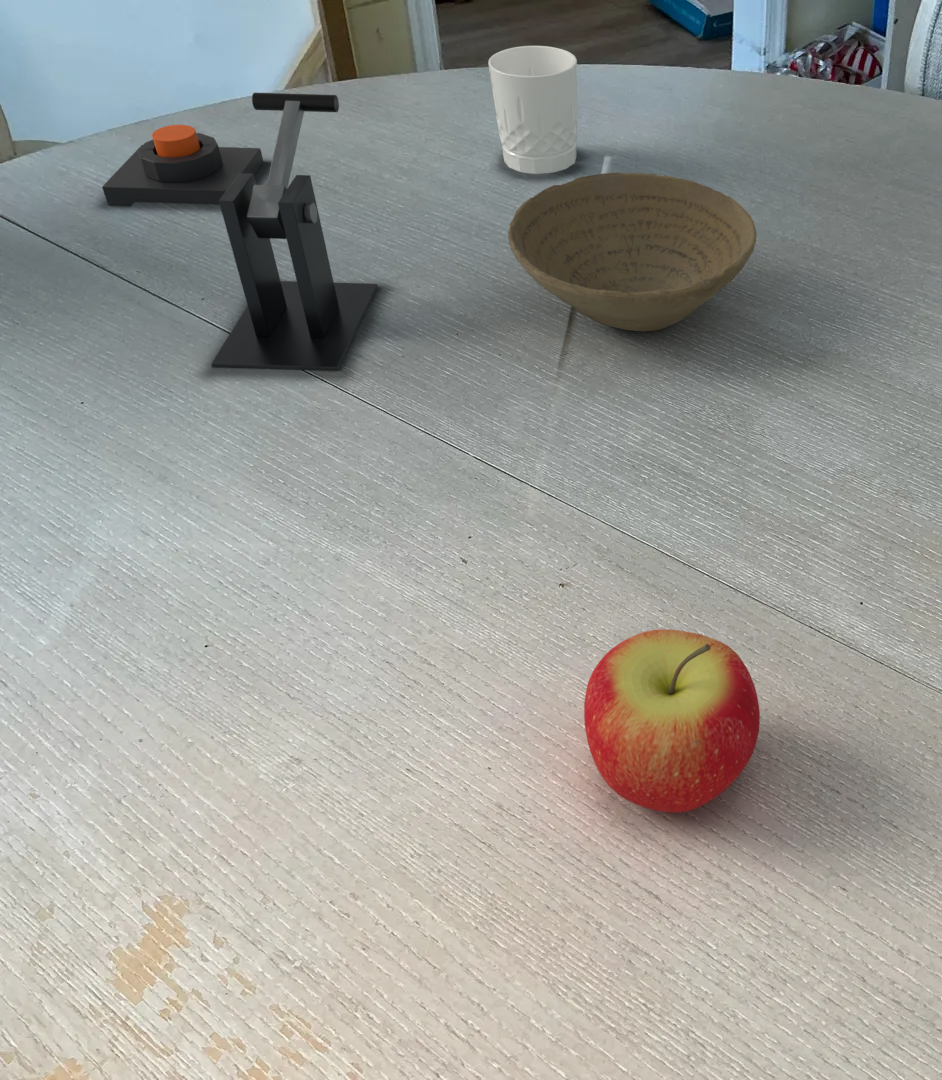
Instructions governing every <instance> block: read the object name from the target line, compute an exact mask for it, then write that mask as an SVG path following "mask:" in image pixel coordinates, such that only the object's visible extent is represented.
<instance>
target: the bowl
mask: <svg viewBox="0 0 942 1080" xmlns="http://www.w3.org/2000/svg"><path fill="white" fill-rule="evenodd" d="M757 234H758V233H757V229H756V226H755V222H754V220H753V218H752V216H751V215H750V214H749V213H748V211H746V210H745V208H744V207H743V206H742V205H741V204H740V203H738V202H737V201H736V200H735V199H734V198H732V197H731V196H728V195H726V194H725V193H723V192H722V191H719V190H716V189H713V188H712V187H709V186H708V185H707V186H706V185H703V184H701V183H698V182H696V181H694V180H689V179H685V178H680V177H674V176H669V175H659V174H655V173H646V172H645V173H644V172H643V173H642V172H604V173H598V174H593V175H592V174H591V175H585V176H580V177H576V178H574V179H573V180H570V181H568V182H565V183H561V184H553V185H551V186H549V187H545V189H543V190H541V191H540V192H538V193H537V194H535V195H534V196H532V197H529V198H528V199H527V200H525V201H523V202H522V204H521V205H520V206H519V207H518V208H517V209H516V211H515V213H514V216H513V218H512V219H511V221H510V222H509V228H508V232H507V237H508V242H509V247H510V250H511V252H512V254H513V256H514V258H515V259H516V261H517V262H518V263H519V265H520V266H521V267H522V268H523V270H525V272H526V273H527V274H528V275H529V277H531V278H532V279H533V281H535V282H536V283H537V284H538V285H539V286H540V287H541V288H543V289H545V290H546V291H547V293H550V294H551V295H553V296H555V297H556V298H558V299H560V300H561V301H563V302H564V303H566V304H568V305H569V306H571V307H573V308H574V309H575V310H577V311H578V312H579V313H580V314H582V315H583V316H585V317H586V318H588V319H590V320H592V321H593V322H596V323H598V324H601V325H604V326H608V327H612V328H615V329H620V330H626V331H631V332H632V331H633V332H655V331H660V330H664V329H666V328H668V327H670V326H672V325H675V324H677V323H679V322H680V321H682V320H684V319H685V318H687V317H688V316H690V315H691V314H693V313H694V312H695V311H696V310H697V309H698V308H700V307H701V306H702V305H704V304H705V303H706V302H708V301H709V300H710V299H712V298H713V297H714V296H716V294H718V293H719V292H721V290H723V289H724V288H725V287H726V286H728V285H729V284H730V283H731V282H732V281H733V280H734V279H735V278H736V277H737V275H739V273H740V272H741V271H742V270H743V268H744V267H745V265H746V264H747V262H748V261H749V259H750V258H751V256H752V254H753V253H754V250H755V247H756V242H757Z"/></svg>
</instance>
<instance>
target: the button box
mask: <svg viewBox="0 0 942 1080" xmlns="http://www.w3.org/2000/svg"><path fill="white" fill-rule="evenodd" d="M196 134H197V138H198V141H199V145H200V150H199V151H198V152H195V153H193V154H191V155H187V156H181V157H161V156H158V154H157V151H156V148H155V144H154V141H153V139H151V140H147V141H146V142H144V143H143V144H141V145H140V146H139V147H138V148H137V149H136V150H135V151H134V152H133V153H132V155H130V157H128V159H127V160H126V161H125V162H124V163H123V164H122V165H121V166H120V167H119V168H118V170H116V172H114V173H113V175H112V176H111V177H109V179H108V180H107V181H106V182H105V183H104V184H103V185H102V186H101V188H102V191H103V194H104V197H105V200H106V203H107V206H111V207H113V206H114V207H116V206H117V207H132V206H133V205H134V204H135V203H157V204H160V203H161V204H166V203H167V204H189V205H190V204H193V205H196V204H197V205H220V204H219V200H220V199H221V197H222V196H223V195H224V193H225V192H226V191H227V189H228V188H229V187H230V185H231V184H232V183H233V181H234V180H235V179H236V178H237V176H238V175H239V174H240V173H248V174H254V175H256V173H257V172H258V171H259V170H260V167H262V165H263V164H264V162H265V161H264V158H263V154H262V153H263V152H262V149H261V147H233V146H232V147H231V146H219V144H218V142H217V140H216V139H215V137H213V136H211V135H207V134H204V133H201V132H196Z"/></svg>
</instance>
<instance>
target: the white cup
mask: <svg viewBox="0 0 942 1080" xmlns="http://www.w3.org/2000/svg"><path fill="white" fill-rule="evenodd" d="M487 64H488V70H489V77H490V84H491V91H492V97H493V104H494V112H495V118H496V122H497V128H498V135H499V139H500V142H501V148H502V156H503V161H504V163H505V164H506V165H507V167H508V168H509V169H512V170H515V171H517V172H520V173H524V174H525V173H526V174H533V175H540V174H541V175H542V174H553V173H558V172H560V171H564V170H567V169H568V168H570V167H571V166H573V165H574V164H575V163H576V159H577V140H578V109H579V108H578V105H579V103H578V60H577V57H576V56H575V55H574V54H573V53H572V52H570V51H568V50H565V49H562V48H560V47H559V48H558V47H554V46H547V45H522V46H515V47H510V48H506V49H503V50H500V51H498V52H496V53H494V54H492V55H491V56H490V58H488V62H487Z"/></svg>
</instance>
